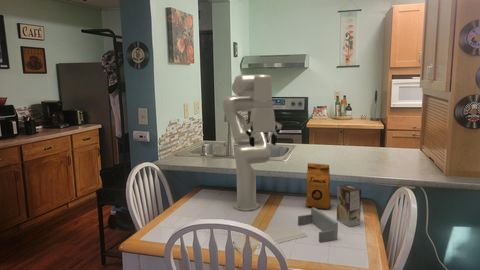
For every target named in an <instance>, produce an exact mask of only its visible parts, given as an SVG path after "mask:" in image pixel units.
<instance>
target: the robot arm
mask: <svg viewBox="0 0 480 270" xmlns="http://www.w3.org/2000/svg"><path fill="white" fill-rule="evenodd" d="M272 89H273V79H272V75H270V74H239V75H237V76H236V77H235V78H234V81H233V83H232V85H231V91H232V92H233V94H234V95H229V96H226V97H224V99H223V101H222V109H223V113H224V115H225V119H226V120H227V121H228V122H229V125H230V129H231V132H232V133H231V134H232V137H233V141H234V144H235V145H237V146H236V148H234V154H233V155H234V160H235V166H236V167H235V168H236V202H235V203H234V204H233V207H234V209H236V210H237V211H242V212H248V211H249V212H250V211H255V210H257V209H259V207H260V204H259V202H258V201H257V177H256V176H257V174H256V173H257V172H256V170H255V169H254V167H252V165H253V164H264V163H267V162H269V160H270V159H271V152H270V147H269V144H268V141H267V138H266V134H265V133H271V135H270V144H271V145H272V146H276V145H277V136H278V134H279V133H280V132H281V129H282V127H283V124H281V123H280V122H278V121H276V116H275V110H274V107H273V106H275V104H276V102H275V101H273V90H272ZM239 112H250V115H249V116H250V119H249V123H247V120H246V118H245V117H244V116H243V115H241V114H240V113H239ZM276 126H277V128H276Z"/></svg>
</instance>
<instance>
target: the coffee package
mask: <svg viewBox="0 0 480 270" xmlns="http://www.w3.org/2000/svg"><path fill="white" fill-rule="evenodd" d="M306 169H307V170H306V171H307V172H306V173H307V174H306V176H307V177H306V199H305V206H306V207H309V208H310V207H311V208H313V207H315V208H316V209H322V210H329V208H330V207H331V206H332V203H331V201H332V194H331V178H330V175H331V174H330V164H323V163H322V164H321V163H311V162H310V163H309V162H307V168H306Z"/></svg>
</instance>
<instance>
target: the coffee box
mask: <svg viewBox="0 0 480 270" xmlns="http://www.w3.org/2000/svg"><path fill="white" fill-rule="evenodd" d="M336 190H337V194H336V221H337V222H339V223H342V224H343V225H345V226H347V227H348V228H351V227H355V226H360V224H361V208H362V207H361V206H362V205H361V204H362V189H361V188H358V187H356V186H353V185H350V184H340V185H337V189H336Z"/></svg>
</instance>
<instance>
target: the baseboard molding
mask: <svg viewBox="0 0 480 270" xmlns="http://www.w3.org/2000/svg"><path fill="white" fill-rule="evenodd" d="M263 232H265V233H266V234H268V235H269V236H270V237H271V238H272V239H273V240H274V241H275V242H277V243H278V244H282V243H285V242H290V241H295V240H298V238H299V239H302V238H306V237H308V235H307V233H306V232H305V231H303V230H302V229H300V228H298V227H297V226H295V225H289V226H287V225H286V226H283V227H278V228H273V229H269V230H264V231H263ZM245 236H246V235H242V236H238V237H234V238H232V239H233V244H234V247H235V248H234V247H233V248H234V250H236V251H237V252H238V251H239V252H242V249H243V246H244V242H245ZM294 239H295V240H294ZM250 241H251V246H252V248H253V247H254V246H257V245H258V246H259V248H258V249H261V248H260V247H261V244H260V242H258V241H256V240H255V239H253V238H251V237H250ZM253 249H254V248H253ZM254 250H255V249H254ZM239 252H238V253H239ZM242 253H243V252H242Z"/></svg>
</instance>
